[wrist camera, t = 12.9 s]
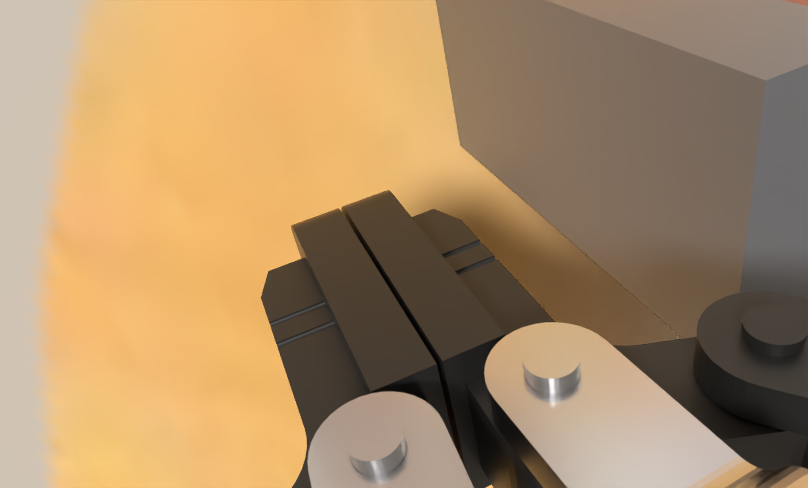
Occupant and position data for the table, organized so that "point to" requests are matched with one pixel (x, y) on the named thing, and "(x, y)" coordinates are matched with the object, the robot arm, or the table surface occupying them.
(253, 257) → the table surface
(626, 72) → the domino
